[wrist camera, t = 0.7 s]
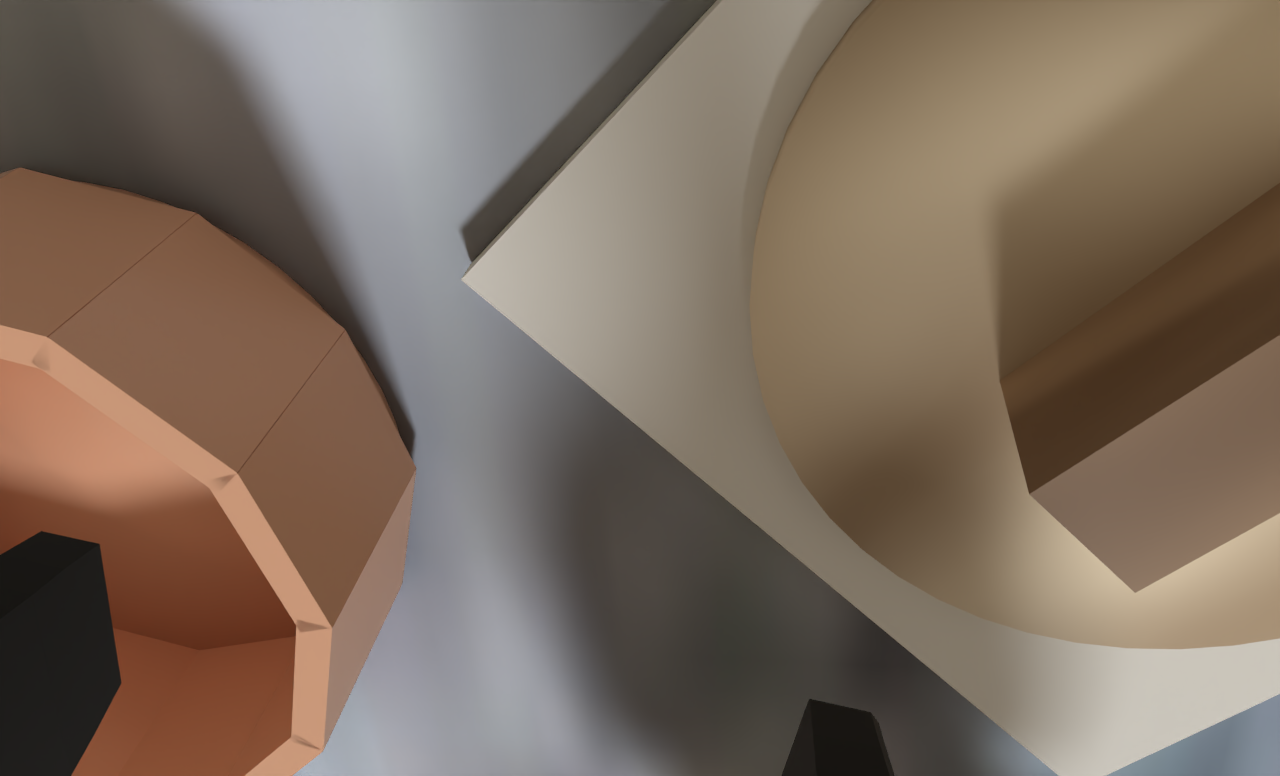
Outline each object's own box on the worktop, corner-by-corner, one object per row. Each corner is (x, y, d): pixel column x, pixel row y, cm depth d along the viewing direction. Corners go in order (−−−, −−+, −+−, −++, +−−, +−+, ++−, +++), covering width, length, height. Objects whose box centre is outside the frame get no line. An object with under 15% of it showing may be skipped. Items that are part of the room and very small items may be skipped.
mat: (2063, 287, 16) (2104, 307, 15) (1069, 766, 24) (1075, 789, 23) (1440, -776, 11) (1468, -797, 11) (470, 264, 19) (461, 280, 19)
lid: (1927, 304, 16) (2207, 457, 13) (1091, 721, 22) (1137, 890, 19) (1397, -519, 12) (1608, -598, 9) (582, 280, 19) (531, 400, 15)
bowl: (535, 455, 22) (466, 637, 17) (241, 715, 27) (136, 899, 23) (-7, 26, 18) (-251, 123, 14) (-211, 423, 24) (-428, 576, 20)
